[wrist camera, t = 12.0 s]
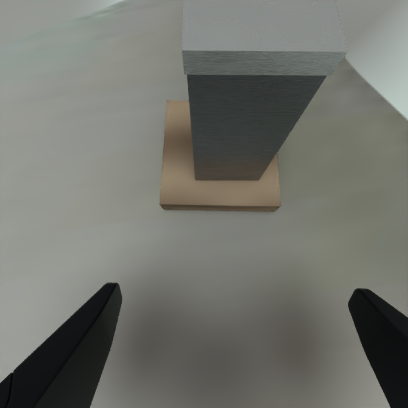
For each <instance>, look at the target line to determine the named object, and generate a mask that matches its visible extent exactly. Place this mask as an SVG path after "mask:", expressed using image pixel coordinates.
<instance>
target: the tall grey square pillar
mask: <svg viewBox="0 0 408 408" xmlns="http://www.w3.org/2000/svg"><path fill="white" fill-rule="evenodd" d="M346 53H347V48H346V44H345V39H344V34H343V30H342V26H341V21H340V16H339V11H338V7H337V2H336V0H184V4H183V36H182V56H183V67H184V75H187V80H188V93H189V107H190V120H191V133H192V146H193V160H194V173H195V180H260V178H261V177H262V175H263V173H264V172H265V170H266V169H267V167H268V166H269V164H270V163H271V161H272V160H273V158H274V156H275V155H276V153H277V152H278V150H279V149H280V147H281V146H282V144H283V143H284V141H285V140H286V138H287V136H288V135H289V133H290V132H291V130H292V129H293V127H294V126H295V124H296V123H297V121H298V119H299V118H300V116H301V115H302V113H303V112H304V110H305V109H306V107H307V106H308V104H309V102H310V101H311V99H312V98H313V96H314V95H315V93H316V92H317V90H318V89H319V87H320V85H321V84H322V82H323V81H324V79H325V78H326V76H331V75H332V74H333V72H334V71H335V69H336V68H337V66H338V65H339V63H340V62H341V60H342V59H343V57H344V56H345V54H346Z"/></svg>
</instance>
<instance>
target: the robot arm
mask: <svg viewBox="0 0 408 408" xmlns="http://www.w3.org/2000/svg"><path fill="white" fill-rule="evenodd" d="M121 304H122V295H121V291H120V287H119V284H118V283H106V284H105V285H104V286H103V287H102V288H101V289H100V290H99V291H98V292H96V293H95V294H94V295H93V296H92V297H91V298H90V299H89V300H88V301H87V302H86V303H85V304H84V305H83V306H82V307H81V308H79V309H78V310H77V311H76V312H75V313H74V314H73V315H72V316H71V317H70V318H69V319H68V320H67V321H66V322H65V323H64V324H62V325H61V326H60V327H59V328H58V329H57V330H56V331H55V332H54V333H53V334H52V335H51V336H50V337H49V338H48V339H47V340H45V341H44V342H43V343H42V344H41V345H40V346H39V347H38V348H37V349H36V350H35V351H34V352H33V353H32V354H31V355H30V356H28V357H27V358H26V359H25V360H24V361H23V362H22V363H21V364H20V365H19V366H18V367H17V368H16V369H15V370H14V371H13V373H10V374H9V375H8V376H7V377H6V378H5V379H4V380H3V381H2V382H1V383H0V408H90V406H91V403H92V400H93V397H94V394H95V391H96V388H97V386H98V383H99V380H100V377H101V374H102V371H103V368H104V366H105V363H106V360H107V357H108V354H109V351H110V348H111V345H112V341H113V337H114V333H115V329H116V325H117V321H118V316H119V312H120V308H121ZM348 307H349V311H350V313H351V316H352V319H353V322H354V324H355V327H356V330H357V333H358V335H359V338H360V341H361V344H362V346H363V349H364V351H365V354H366V356H367V358H368V360H369V362H370V364H371V367H372V369H373V371H374V373H375V375H376V377H377V379H378V382H379V384H380V386H381V388H382V390H383V392H384V394H385V396H386V399H387V401H388V403H389V405H390V407H391V408H408V317H406V316H405V315H404V314H402V313H401V312H399V311H398V310H397V309H395V308H394V307H393V306H391V305H390V304H388V303H387V302H386V301H384V300H383V299H382V298H380V297H379V296H378V295H376V294H375V293H373V292H372V291H371V290H369V289H362V288H358V289H355V290H354V292H353V294H352V296H351V298H350V300H349V302H348Z"/></svg>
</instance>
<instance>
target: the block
mask: <svg viewBox="0 0 408 408" xmlns="http://www.w3.org/2000/svg"><path fill="white" fill-rule="evenodd" d="M160 205H161V207H162V208H163V209H167V210H220V211H272V212H274V211H275V210H277V209H278V208H279V207H281V202H280V187H279V172H278V157H277V153H276V155H275V156H274V158H273V160H272V161H271V163H270V164H269V166H268V167H267V169H266V170H265V172H264V173H263V175H262V177H261V178H260V180H195V173H194V160H193V146H192V133H191V120H190V107H189V101H169V100H167V105H166V120H165V134H164V149H163V163H162V178H161V192H160Z"/></svg>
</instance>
